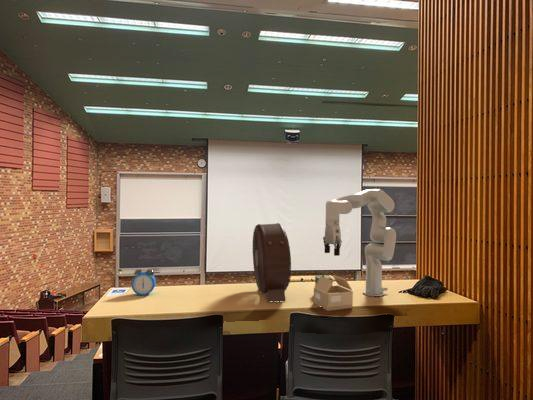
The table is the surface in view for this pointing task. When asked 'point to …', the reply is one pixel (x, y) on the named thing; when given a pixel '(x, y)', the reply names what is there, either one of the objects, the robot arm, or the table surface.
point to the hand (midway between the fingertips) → (331, 254)
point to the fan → (271, 260)
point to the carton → (334, 298)
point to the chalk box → (322, 276)
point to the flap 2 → (342, 282)
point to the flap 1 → (324, 284)
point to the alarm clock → (143, 282)
